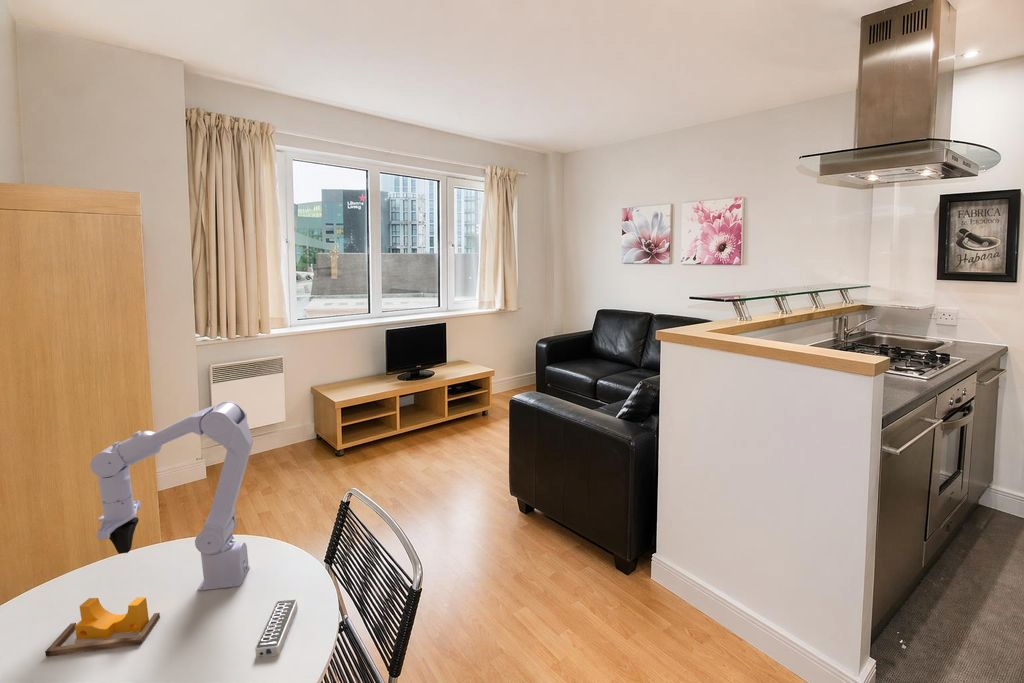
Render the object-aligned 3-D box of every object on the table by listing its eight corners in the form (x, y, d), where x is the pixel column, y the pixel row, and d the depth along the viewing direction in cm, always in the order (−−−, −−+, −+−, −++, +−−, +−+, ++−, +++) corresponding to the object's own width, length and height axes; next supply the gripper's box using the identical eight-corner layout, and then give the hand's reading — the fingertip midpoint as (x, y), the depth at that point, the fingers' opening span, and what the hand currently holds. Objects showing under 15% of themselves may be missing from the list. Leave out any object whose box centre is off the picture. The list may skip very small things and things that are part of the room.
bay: (160, 617, 113) (159, 612, 113) (141, 644, 105) (141, 639, 105) (71, 628, 109) (70, 623, 109) (45, 656, 102) (44, 651, 102)
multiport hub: (298, 608, 116) (297, 598, 116) (279, 656, 102) (278, 646, 102) (277, 610, 116) (276, 600, 115) (255, 659, 102) (254, 649, 101)
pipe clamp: (76, 639, 107) (72, 611, 105) (93, 625, 111) (89, 598, 110) (135, 639, 107) (131, 611, 106) (149, 624, 111) (145, 597, 110)
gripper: (114, 485, 124) (121, 537, 127) (77, 514, 110) (86, 572, 113) (147, 482, 126) (153, 534, 128) (114, 511, 112) (122, 568, 114)
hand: (124, 551), depth 121 cm, fingers closed
